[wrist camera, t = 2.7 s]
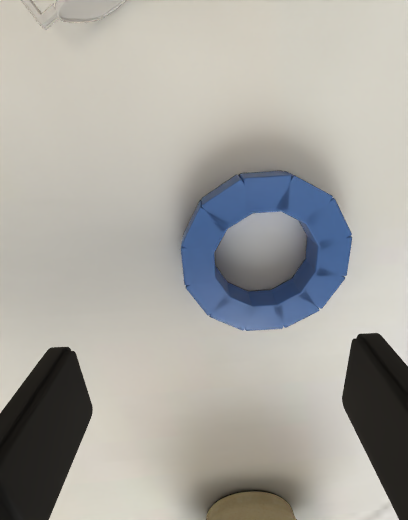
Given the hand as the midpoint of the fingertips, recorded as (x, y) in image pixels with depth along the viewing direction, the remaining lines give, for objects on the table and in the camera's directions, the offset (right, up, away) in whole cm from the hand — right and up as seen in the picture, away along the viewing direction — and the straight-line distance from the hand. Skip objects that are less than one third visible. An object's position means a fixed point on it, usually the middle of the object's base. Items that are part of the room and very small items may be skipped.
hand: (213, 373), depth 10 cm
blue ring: (+3, +5, +10) cm, 11 cm away
